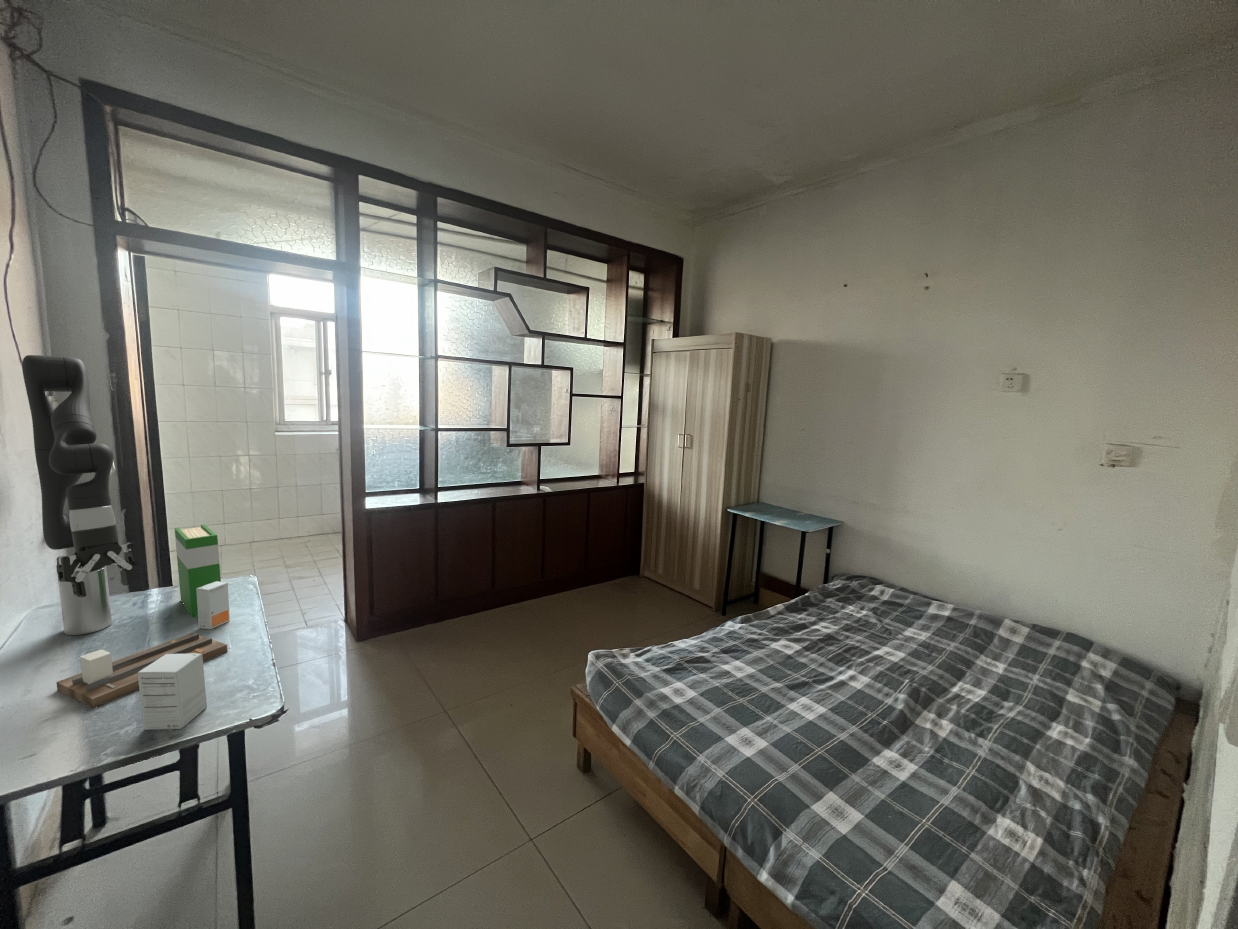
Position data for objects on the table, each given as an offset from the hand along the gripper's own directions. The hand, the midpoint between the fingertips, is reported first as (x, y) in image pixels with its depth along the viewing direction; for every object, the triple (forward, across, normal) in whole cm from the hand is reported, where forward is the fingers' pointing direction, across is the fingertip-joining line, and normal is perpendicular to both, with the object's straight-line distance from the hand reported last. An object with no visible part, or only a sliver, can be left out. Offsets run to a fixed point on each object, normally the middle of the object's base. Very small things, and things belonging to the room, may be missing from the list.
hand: (104, 590), depth 121 cm
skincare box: (+18, -22, 0) cm, 29 cm away
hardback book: (+16, -30, -18) cm, 38 cm away
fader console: (+20, -1, +11) cm, 22 cm away
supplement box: (+24, +9, +37) cm, 45 cm away
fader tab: (+18, +8, +10) cm, 22 cm away
